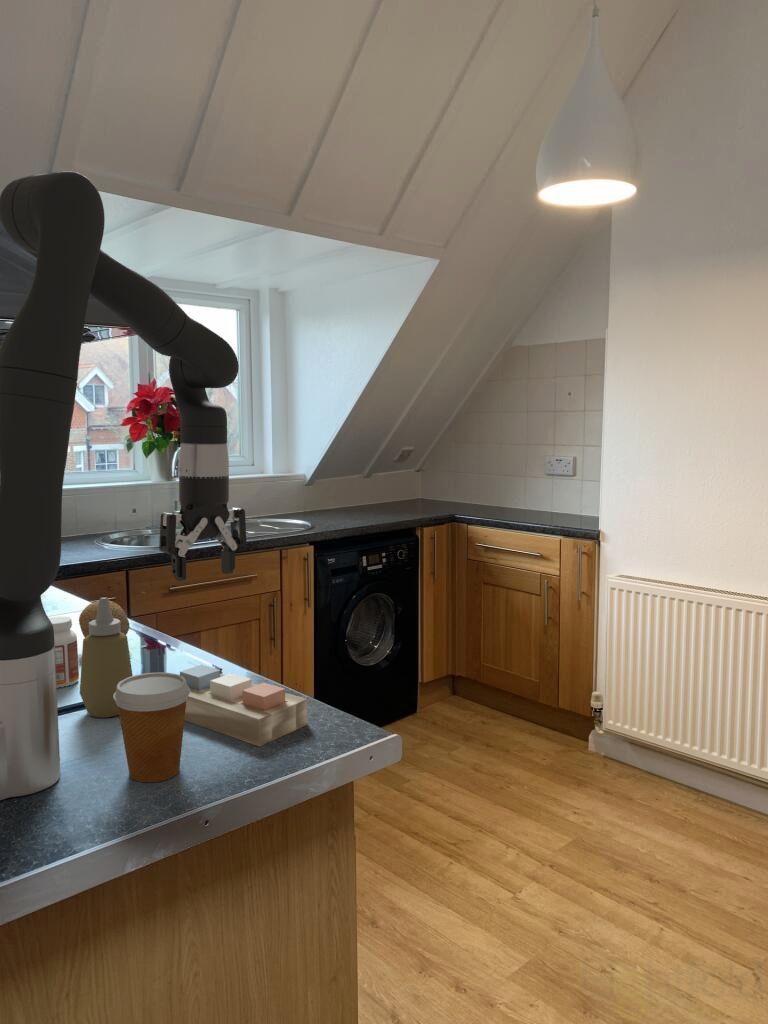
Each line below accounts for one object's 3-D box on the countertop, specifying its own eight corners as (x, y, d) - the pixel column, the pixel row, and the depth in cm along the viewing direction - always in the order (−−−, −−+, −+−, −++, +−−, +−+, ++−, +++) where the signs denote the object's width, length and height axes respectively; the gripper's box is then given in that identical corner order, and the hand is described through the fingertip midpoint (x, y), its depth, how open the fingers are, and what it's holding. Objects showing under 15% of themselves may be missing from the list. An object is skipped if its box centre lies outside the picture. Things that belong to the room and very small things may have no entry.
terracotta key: (264, 719, 119) (263, 696, 118) (242, 712, 121) (242, 690, 121) (285, 710, 122) (285, 688, 122) (264, 704, 125) (263, 682, 124)
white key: (230, 708, 123) (230, 686, 122) (210, 702, 125) (210, 680, 125) (252, 700, 126) (251, 679, 126) (232, 694, 129) (231, 673, 129)
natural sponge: (120, 641, 166) (118, 592, 165) (137, 651, 159) (135, 601, 158) (74, 649, 161) (72, 598, 160) (89, 660, 154) (87, 608, 153)
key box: (259, 746, 116) (258, 719, 115) (158, 711, 129) (158, 686, 128) (307, 724, 124) (307, 699, 123) (208, 693, 137) (207, 670, 136)
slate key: (199, 698, 127) (198, 677, 127) (180, 692, 130) (179, 671, 129) (220, 690, 131) (220, 669, 130) (202, 685, 133) (201, 664, 133)
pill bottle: (68, 674, 146) (66, 613, 144) (85, 682, 142) (83, 619, 140) (33, 683, 141) (30, 619, 140) (50, 691, 137) (47, 626, 136)
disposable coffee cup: (149, 796, 101) (146, 701, 99) (100, 775, 106) (97, 685, 105) (207, 768, 109) (205, 680, 107) (159, 750, 114) (156, 666, 113)
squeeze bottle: (77, 707, 130) (72, 595, 128) (129, 699, 134) (126, 590, 131) (84, 725, 123) (79, 607, 121) (139, 716, 127) (136, 601, 124)
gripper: (176, 476, 120) (177, 586, 121) (256, 473, 130) (255, 574, 132) (149, 473, 125) (150, 578, 127) (228, 470, 135) (228, 568, 137)
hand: (204, 576), depth 129 cm, fingers open, 8 cm apart
